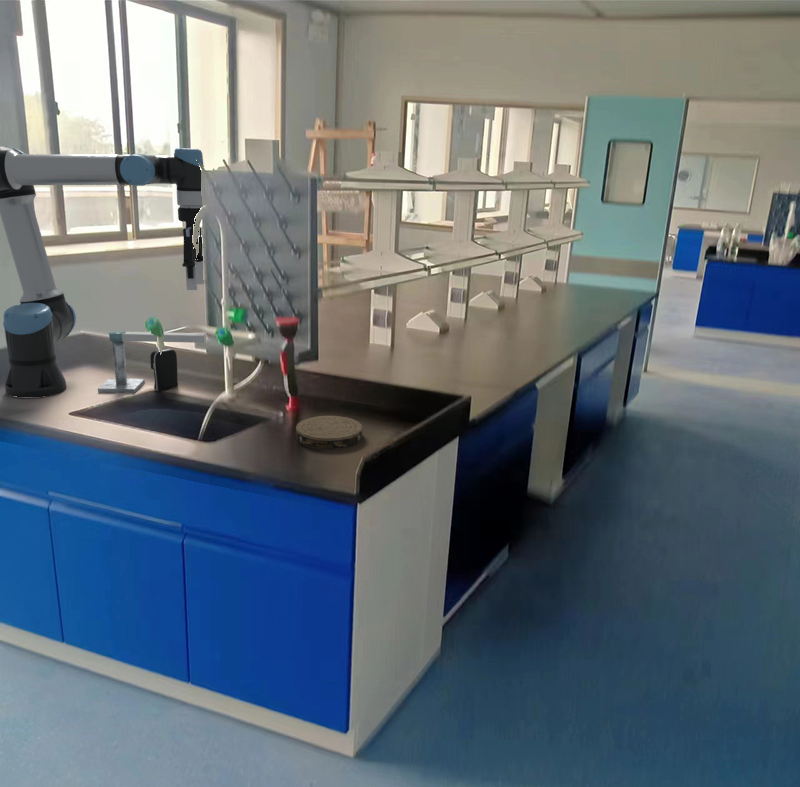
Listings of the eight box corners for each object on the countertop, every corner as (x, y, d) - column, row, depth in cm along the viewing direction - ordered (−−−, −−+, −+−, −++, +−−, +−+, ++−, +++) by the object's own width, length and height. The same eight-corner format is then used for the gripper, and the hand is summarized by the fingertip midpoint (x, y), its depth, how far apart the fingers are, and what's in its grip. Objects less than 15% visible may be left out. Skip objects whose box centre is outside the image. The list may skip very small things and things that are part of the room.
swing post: (98, 392, 203) (93, 344, 199) (109, 382, 213) (105, 336, 209) (134, 393, 204) (131, 345, 200) (144, 382, 213) (141, 337, 209)
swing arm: (107, 341, 202) (106, 334, 201) (112, 337, 206) (111, 330, 206) (203, 343, 204) (203, 336, 203) (206, 339, 208) (206, 332, 207)
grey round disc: (334, 422, 188) (334, 411, 187) (375, 440, 177) (375, 428, 176) (282, 436, 178) (282, 424, 177) (323, 455, 167) (323, 443, 166)
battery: (171, 384, 213) (168, 346, 209) (179, 387, 211) (177, 348, 207) (150, 389, 208) (147, 350, 204) (158, 392, 205) (155, 352, 202)
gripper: (197, 209, 194) (201, 293, 201) (212, 204, 215) (215, 281, 222) (168, 208, 193) (173, 293, 200) (186, 204, 214) (190, 280, 221)
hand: (195, 286), depth 211 cm, fingers open, 9 cm apart
